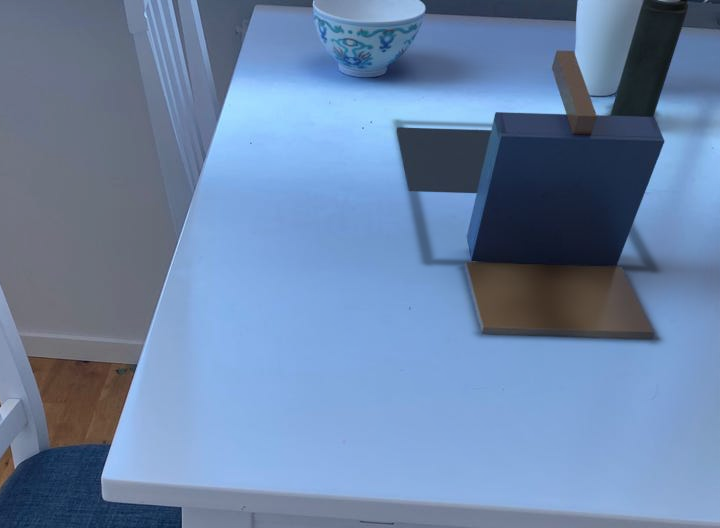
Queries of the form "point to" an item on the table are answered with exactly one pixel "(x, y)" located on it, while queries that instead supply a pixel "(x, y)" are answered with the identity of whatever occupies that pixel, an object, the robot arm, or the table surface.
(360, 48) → the chinaware
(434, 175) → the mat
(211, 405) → the table surface
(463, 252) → the table surface
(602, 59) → the cup
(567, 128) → the tray
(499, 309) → the stand
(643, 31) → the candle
